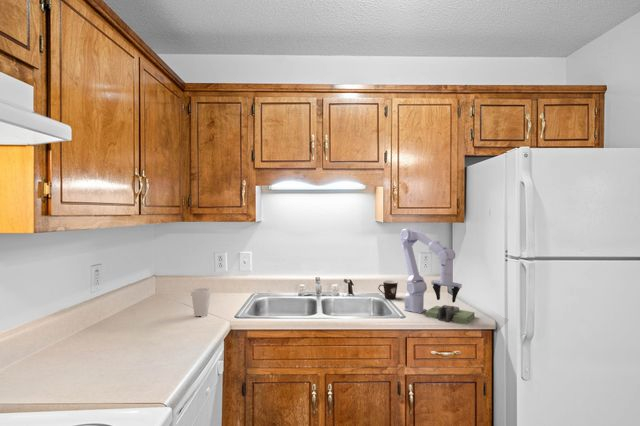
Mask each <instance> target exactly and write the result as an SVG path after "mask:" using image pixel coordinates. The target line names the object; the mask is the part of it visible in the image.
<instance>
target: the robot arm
mask: <svg viewBox="0 0 640 426" xmlns="http://www.w3.org/2000/svg"><path fill="white" fill-rule="evenodd" d="M399 237H400V243H401V244H400V246H401V250H402V253H403V258H404V262H405V265H406V269H407V273H408V278H407V280H405V283H406V290H407V292H406V294H405V295H404V308H403V310H404V311H405V312H412V313H418V314H421V313H423V312H426V311H427V308H425V307H424V299H425V298H424V296H425V294H426V293H425V292H426V291H427V289H428V287H427V282H425V279H424V277H423V276H422V275H420V272H419V269H418V265H417V261H416V257H415V253H414V249H413V246H414V244H415V243H416V242H417V241H419V242H421V243H423V244H424V245H425V246H427V247H428V250H429V251H431V252H432V253H434V255H436V256H437V257H438V260H439V263H440V270H439V271H440V274H439V275H440V279H439V280H433V279H432V280H431V281H430V283H431V286H432V288H433V291H434V293H435V296H436V300H437V301H439V300H440V299H441V287H448V288H449V287H450V288H451V293H452V294H451V295H452V298H451V299H452V303H456V300H457V296H458V293H459V291H460V290H461V289H462V287H463V286H462V285H463V284H462V283H458V282H453V272H454V271H453V263H454V259H455V258H456V252H455V250H453V248H447V246H446V245H443V244H442V243H440V242H441V241H439V240H433V239H431V238H430V237H428V236H427V235H425V234H424V233H423V232H422V230H421V229H419V228H417V227H416V228H403V229H402V230H401V232H400V233H399Z"/></svg>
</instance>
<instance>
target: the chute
mask: <svg viewBox="0 0 640 426" xmlns="http://www.w3.org/2000/svg"><path fill="white" fill-rule="evenodd" d="M453 306H454V305H446V304H444V305H442V306H440V308H438V318H437V320H438V321H441V322H446V323H450V322H451V321H453V316H454V307H453ZM446 309H447V310H446Z"/></svg>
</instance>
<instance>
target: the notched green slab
mask: <svg viewBox="0 0 640 426" xmlns="http://www.w3.org/2000/svg"><path fill="white" fill-rule="evenodd" d="M452 306H453V307H454V316H453V319H452V321H453V323H460V324H465V325H466V324H468V323H469V322H470V321H471V320H473V319H475V311H469V310H465V309H460V307H459V306H456V305H452ZM440 307H441V306H439V305H435V306H433V307H431V308H429V309H428V310H427V309H426V310H425V317H428V318H433V319H438V308H440ZM446 310H447V309H446Z"/></svg>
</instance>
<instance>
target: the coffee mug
mask: <svg viewBox="0 0 640 426" xmlns="http://www.w3.org/2000/svg"><path fill="white" fill-rule="evenodd" d="M398 284H399V283H398V281H396V280H390V279H389V280H384V281H383V284H379V285H378V291H380V293H382V294H384V299H385V300H390V301H391V300H397V299H396V298H397V293H398V292H397V290H398ZM381 286H382V287H383V291H382V290H381V289H380V288H381Z"/></svg>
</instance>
